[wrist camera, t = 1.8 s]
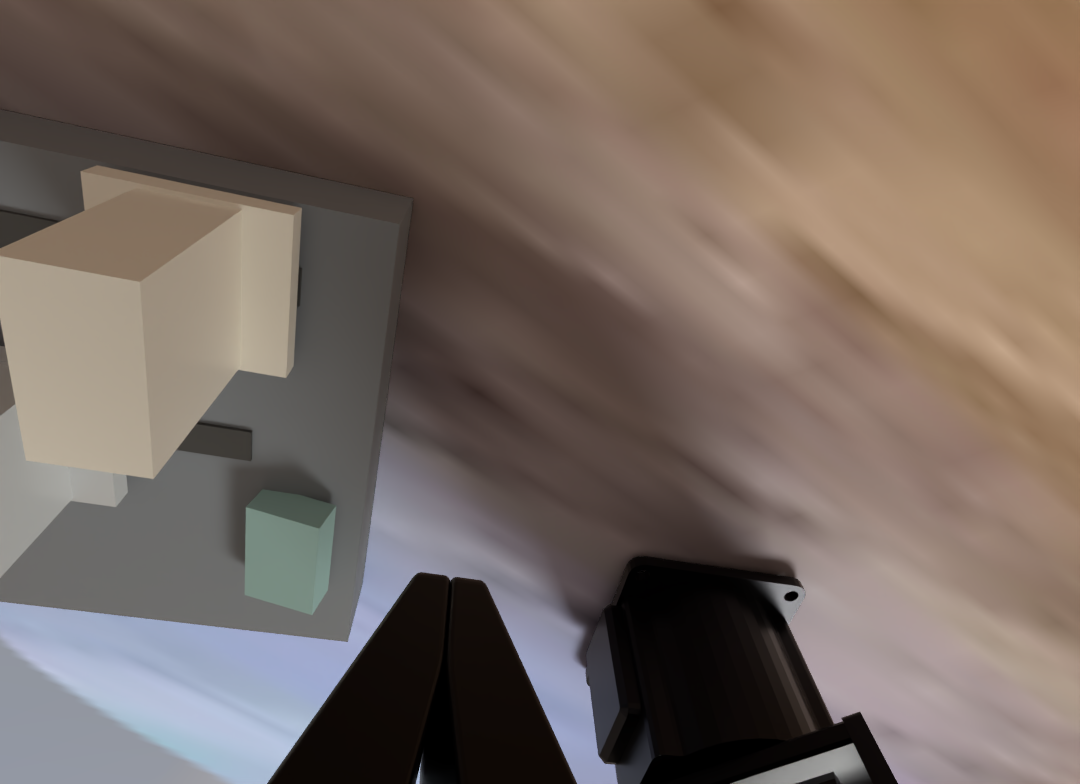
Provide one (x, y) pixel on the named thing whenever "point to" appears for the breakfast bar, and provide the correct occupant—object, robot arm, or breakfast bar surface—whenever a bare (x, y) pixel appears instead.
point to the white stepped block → (38, 483)
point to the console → (233, 415)
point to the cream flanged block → (143, 316)
